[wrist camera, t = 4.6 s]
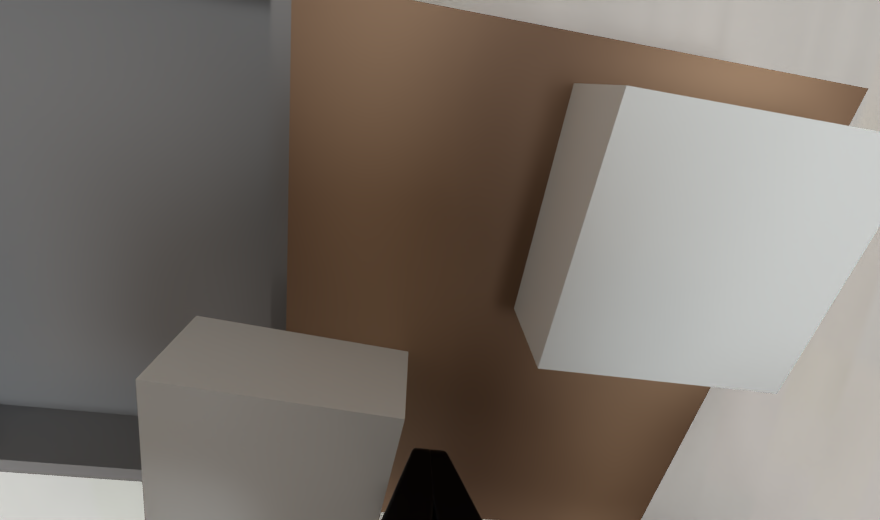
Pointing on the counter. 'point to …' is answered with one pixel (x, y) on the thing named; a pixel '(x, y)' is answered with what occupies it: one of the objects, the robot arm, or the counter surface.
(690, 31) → the counter surface
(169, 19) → the tray
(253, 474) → the tile
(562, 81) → the brown wooden block
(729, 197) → the tile
